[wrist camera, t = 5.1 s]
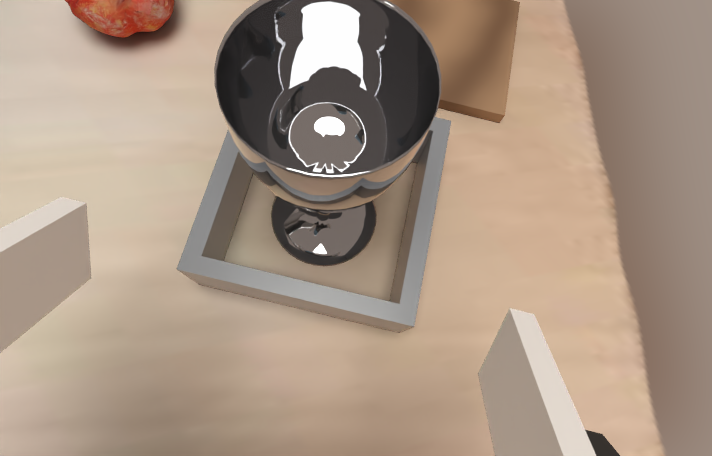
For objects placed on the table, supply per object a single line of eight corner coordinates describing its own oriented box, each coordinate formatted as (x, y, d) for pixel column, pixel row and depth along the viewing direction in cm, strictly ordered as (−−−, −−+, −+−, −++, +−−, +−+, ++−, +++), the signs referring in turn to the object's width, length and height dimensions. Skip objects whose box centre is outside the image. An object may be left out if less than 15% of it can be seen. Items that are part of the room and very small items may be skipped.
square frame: (198, 284, 27) (176, 269, 23) (259, 111, 31) (249, 71, 27) (398, 332, 27) (414, 326, 23) (432, 154, 31) (451, 121, 27)
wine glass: (357, 148, 31) (391, -37, 17) (400, 248, 29) (479, 135, 15) (250, 181, 30) (186, 10, 15) (287, 289, 27) (253, 208, 13)
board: (242, 59, 32) (240, 49, 31) (282, -47, 36) (281, -58, 35) (499, 122, 33) (504, 115, 32) (514, 11, 36) (519, 2, 35)
